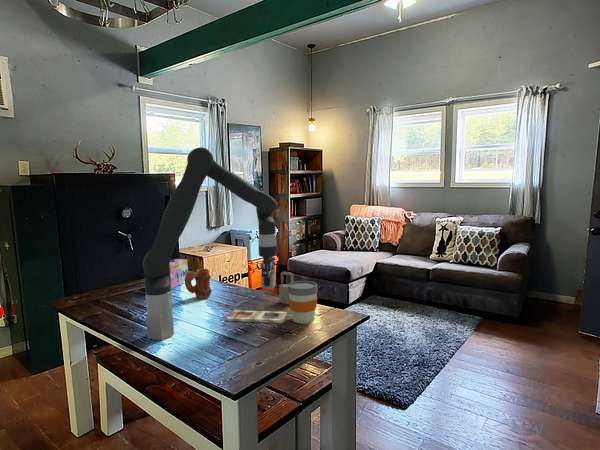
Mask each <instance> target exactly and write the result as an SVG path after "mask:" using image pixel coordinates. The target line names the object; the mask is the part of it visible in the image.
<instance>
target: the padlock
mask: <svg viewBox="0 0 600 450" xmlns="http://www.w3.org/2000/svg"><path fill="white" fill-rule="evenodd" d="M284 275H285V276H289V277H290V283H292V282H295V281H294V274H293V273H292V272H289V271H282V272H281V273H280V281H281V284H279V285H278V294H279V295H278V296H279V302H280V303H281V304H285V305H289V299H288V298H289V293H288V284H285V283H284V280H285V278H284V277H285V276H284Z"/></svg>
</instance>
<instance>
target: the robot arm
mask: <svg viewBox="0 0 600 450" xmlns="http://www.w3.org/2000/svg"><path fill="white" fill-rule="evenodd" d="M186 158H187V160H186V167H185V170H184V173H183V175H182V178H181V180H180V182H179V183H178V184H177V186H176V187H175V189H174V191H173V193H171V194H172V195H171V196H170V198H169V200H168V203H166V207H165V209H164V212H163V215H162V217H161V220H160V224H159V227H158V231H157V235H156V237H155V239H154V242H153V244H152V246H151V247H150V250H149V251H147V253H146V254H145V256H144V257H143V260H142V268H143V271H144V273H143V274H144V290H145V291H144V293H145V306H146V315H145V321H146V332H147V333H146V334H147V340H150V339H152V340H153V341H155V340H156V341H163V340H166V339H168V338H170V337H172V336H174V334H175V328H174V314H173V313H174V312H173V301H172V299H173V298H172V297H173V296H172V290H171V278H170V261H171V260H172V256H173V254H174V250H175V247H176V244H178V243H177V242H178V241H179V239H180V237H181V235H182V234H183V232H184V230H185V228H186V226H187V225H188V222H189V219H190V217H191V215H192V214H193V210H194V208H195V205H196V202H197V200H198V196H199V193H200V190H201V187H202V185H203V183H204V181H205V180H206V178H209V179H211V180H213V181H215V182H217V183H218V184H219V185H220V186H223V187H224V188H226V189H227V190H229V191H230V192H231V193H232V194H234V195H235V196H237V197H238V198H240V199H241V200H243V201H245V202H246V203H249V204H251V205H252V206H254V207H256V210H255V211H256V215H257V222H258V238H257V239H258V241H257V243H258V256H259V257H260V258H261V257H262V259H263V260H262V262H261V264H260V270H261V274H262V277H264V286H269V285H270V278H269V277H270V272H271V271H272V272H275V263H276V261H275V260H276V258H275V257H276V256H277V253H278V249H277V248H278V246H277V244H278V243H277V234H276V232H277V230H276V222H275V219H274V215H273V213H275V212H276V210H277V208H278V203H277V200H276V199H275V198H273V197H272V196H271V195H270V194H268V193H266V192H264V191H262V190H260V189H258V188H257V187H256V186H254V185H253V184H252V183H251V182H249V181H247V180H246V179H244V178H242V177H240V176H239V175H237V174H235V173H233V172H231V171H230V170H228V169H227V168H225V167H224V166H222V165H221V164H219V163H218V162H217V161H216V160H215V159H214V156H213V153H212V151H210V150H209V149H208V148H205V147H201V146H199V147H196V148H193V149H192V150H191V151H189V153H188V155H187V157H186ZM265 272H266V274H265ZM152 340H151V341H152Z"/></svg>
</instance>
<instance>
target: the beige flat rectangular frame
mask: <svg viewBox="0 0 600 450" xmlns="http://www.w3.org/2000/svg"><path fill="white" fill-rule="evenodd" d="M287 316H288V312H287V311H270V310H269V311H268V310H240V309H239V310H237V309H236V310H233V311H232V312H231V313H230V314H229V315H228V316H227V317H226V320H225V321H226V322H240V323H242V322H244V323H245V322H246V323H247V322H248V323H269V324H272V323H273V324H283V323H284V322H285V319H286V317H287Z"/></svg>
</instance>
